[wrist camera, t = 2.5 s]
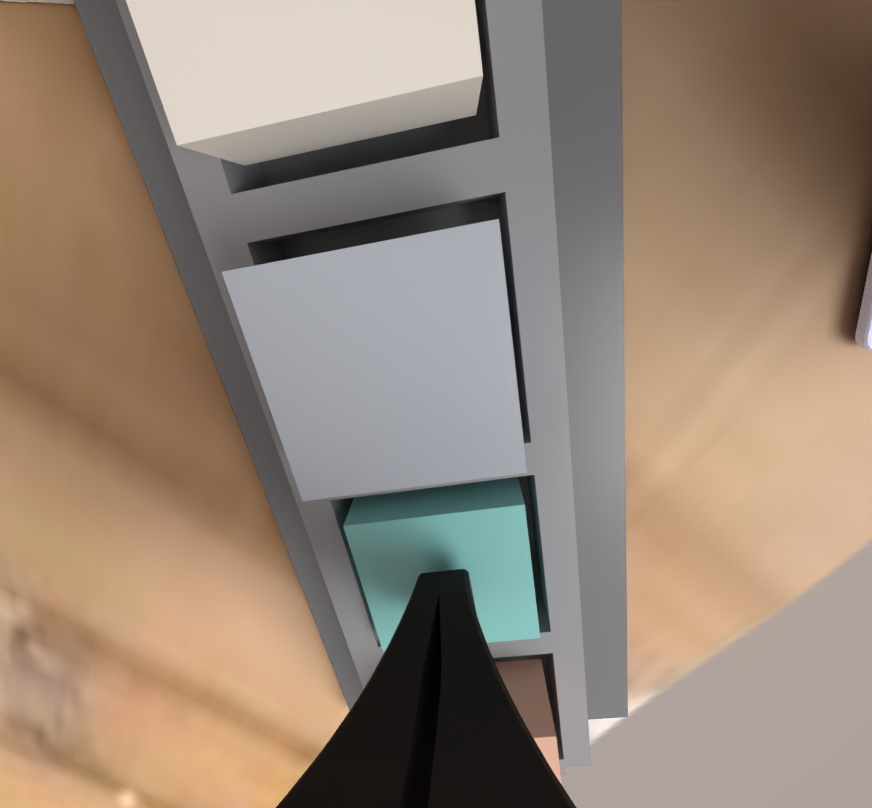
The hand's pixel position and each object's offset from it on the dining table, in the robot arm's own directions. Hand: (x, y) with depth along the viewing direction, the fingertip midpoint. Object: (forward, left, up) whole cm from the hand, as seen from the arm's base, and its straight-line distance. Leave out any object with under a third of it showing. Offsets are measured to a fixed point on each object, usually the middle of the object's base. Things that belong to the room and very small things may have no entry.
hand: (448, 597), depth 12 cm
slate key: (0, -7, -1) cm, 7 cm away
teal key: (0, 0, -3) cm, 3 cm away
